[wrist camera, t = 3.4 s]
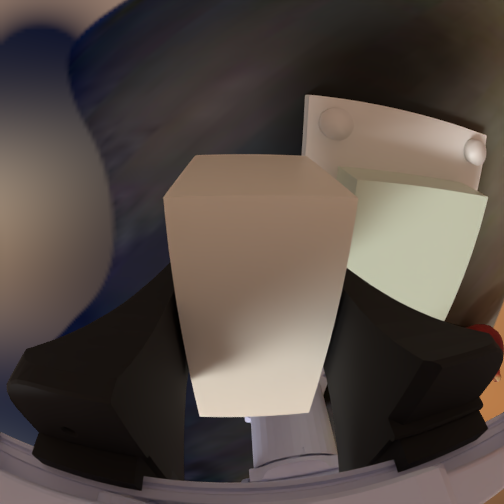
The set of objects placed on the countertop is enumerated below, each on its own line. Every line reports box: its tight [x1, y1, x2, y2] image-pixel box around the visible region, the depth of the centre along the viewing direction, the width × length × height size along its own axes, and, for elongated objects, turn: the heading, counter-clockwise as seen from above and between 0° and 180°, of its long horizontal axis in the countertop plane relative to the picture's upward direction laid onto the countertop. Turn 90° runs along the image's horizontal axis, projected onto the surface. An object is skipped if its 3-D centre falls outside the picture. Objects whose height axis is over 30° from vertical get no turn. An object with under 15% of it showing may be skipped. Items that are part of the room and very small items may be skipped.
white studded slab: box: [302, 95, 488, 321], centre depth 18 cm, size 18×14×4 cm
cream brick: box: [163, 154, 358, 417], centre depth 10 cm, size 8×4×5 cm, turn 179°
